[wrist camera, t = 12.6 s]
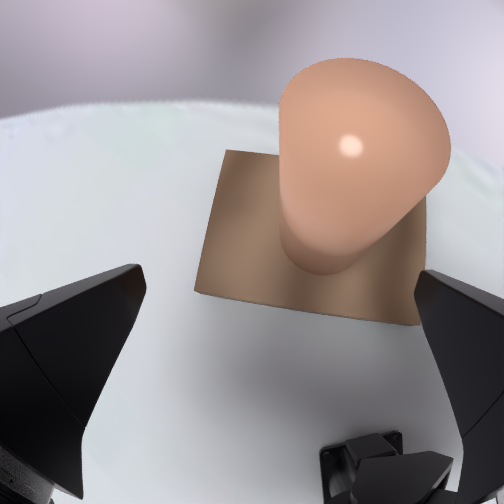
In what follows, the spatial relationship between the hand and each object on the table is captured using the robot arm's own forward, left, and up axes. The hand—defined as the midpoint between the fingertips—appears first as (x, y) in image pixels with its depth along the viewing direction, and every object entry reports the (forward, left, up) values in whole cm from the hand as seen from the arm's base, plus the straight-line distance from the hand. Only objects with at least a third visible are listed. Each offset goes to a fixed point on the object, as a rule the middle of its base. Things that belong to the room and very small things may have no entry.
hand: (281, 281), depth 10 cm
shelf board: (+5, -4, -14) cm, 15 cm away
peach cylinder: (+5, -4, -12) cm, 13 cm away
